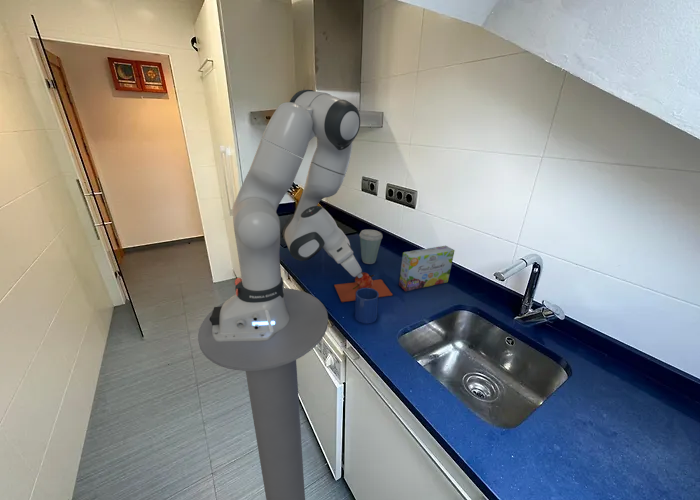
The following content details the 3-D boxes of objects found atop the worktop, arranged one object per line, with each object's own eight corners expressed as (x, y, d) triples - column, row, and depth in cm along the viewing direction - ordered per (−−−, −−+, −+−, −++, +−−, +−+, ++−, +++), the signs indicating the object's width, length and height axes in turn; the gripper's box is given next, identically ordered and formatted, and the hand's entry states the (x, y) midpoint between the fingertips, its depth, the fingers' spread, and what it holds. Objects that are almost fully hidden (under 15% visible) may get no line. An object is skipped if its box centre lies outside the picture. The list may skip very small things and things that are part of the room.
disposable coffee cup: (363, 254, 141) (365, 226, 135) (384, 259, 137) (386, 230, 131) (354, 263, 133) (355, 232, 126) (375, 268, 128) (377, 237, 122)
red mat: (341, 302, 103) (341, 301, 103) (334, 285, 113) (334, 284, 113) (392, 295, 108) (392, 294, 108) (381, 280, 119) (381, 279, 118)
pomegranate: (356, 299, 108) (378, 287, 105) (345, 284, 107) (367, 271, 104) (359, 291, 115) (379, 279, 112) (348, 277, 114) (369, 264, 111)
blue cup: (358, 325, 91) (359, 301, 88) (352, 311, 98) (353, 289, 94) (380, 321, 93) (382, 298, 90) (372, 308, 100) (374, 286, 96)
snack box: (406, 292, 110) (410, 257, 104) (398, 285, 115) (402, 251, 109) (449, 282, 118) (455, 249, 112) (439, 276, 123) (445, 244, 117)
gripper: (322, 237, 108) (341, 261, 115) (337, 263, 91) (358, 289, 98) (335, 227, 108) (353, 252, 115) (353, 251, 91) (373, 278, 98)
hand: (356, 269), depth 107 cm, fingers open, 8 cm apart
